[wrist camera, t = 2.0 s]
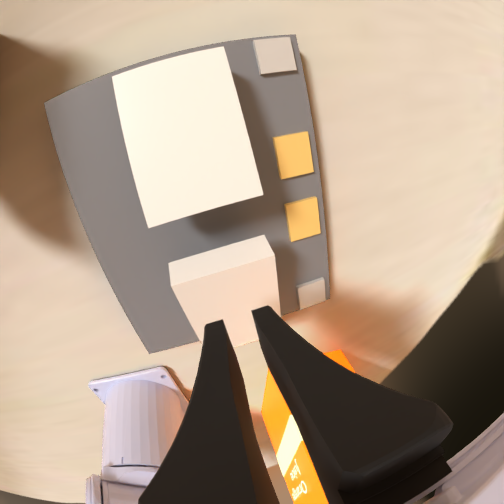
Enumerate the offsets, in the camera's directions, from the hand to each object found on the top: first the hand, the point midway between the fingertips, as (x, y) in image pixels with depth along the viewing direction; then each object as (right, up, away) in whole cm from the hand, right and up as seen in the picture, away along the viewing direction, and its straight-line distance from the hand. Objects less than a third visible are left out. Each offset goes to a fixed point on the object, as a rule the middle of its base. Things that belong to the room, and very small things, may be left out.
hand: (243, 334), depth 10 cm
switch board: (-3, +6, +7) cm, 10 cm away
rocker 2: (-1, +1, +7) cm, 7 cm away
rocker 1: (-3, +8, +2) cm, 9 cm away
